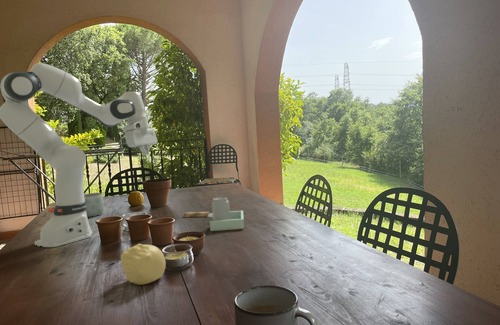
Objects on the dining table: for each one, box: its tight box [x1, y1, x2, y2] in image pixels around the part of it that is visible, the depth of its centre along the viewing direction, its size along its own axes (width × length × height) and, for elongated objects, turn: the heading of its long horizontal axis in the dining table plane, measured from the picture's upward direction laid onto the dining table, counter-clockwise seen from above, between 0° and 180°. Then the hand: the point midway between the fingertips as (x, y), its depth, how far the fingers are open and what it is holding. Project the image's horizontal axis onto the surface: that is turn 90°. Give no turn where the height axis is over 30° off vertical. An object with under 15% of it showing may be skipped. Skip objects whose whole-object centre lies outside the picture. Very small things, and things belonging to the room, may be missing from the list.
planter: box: [84, 192, 105, 218], centre depth 207 cm, size 12×12×11 cm
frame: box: [209, 210, 245, 232], centre depth 170 cm, size 14×16×4 cm
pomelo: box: [120, 243, 167, 286], centre depth 114 cm, size 12×12×11 cm
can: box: [211, 196, 231, 221], centre depth 170 cm, size 8×8×12 cm
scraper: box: [183, 211, 213, 219], centre depth 190 cm, size 15×7×2 cm, turn 82°
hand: (146, 155), depth 183 cm, fingers closed
